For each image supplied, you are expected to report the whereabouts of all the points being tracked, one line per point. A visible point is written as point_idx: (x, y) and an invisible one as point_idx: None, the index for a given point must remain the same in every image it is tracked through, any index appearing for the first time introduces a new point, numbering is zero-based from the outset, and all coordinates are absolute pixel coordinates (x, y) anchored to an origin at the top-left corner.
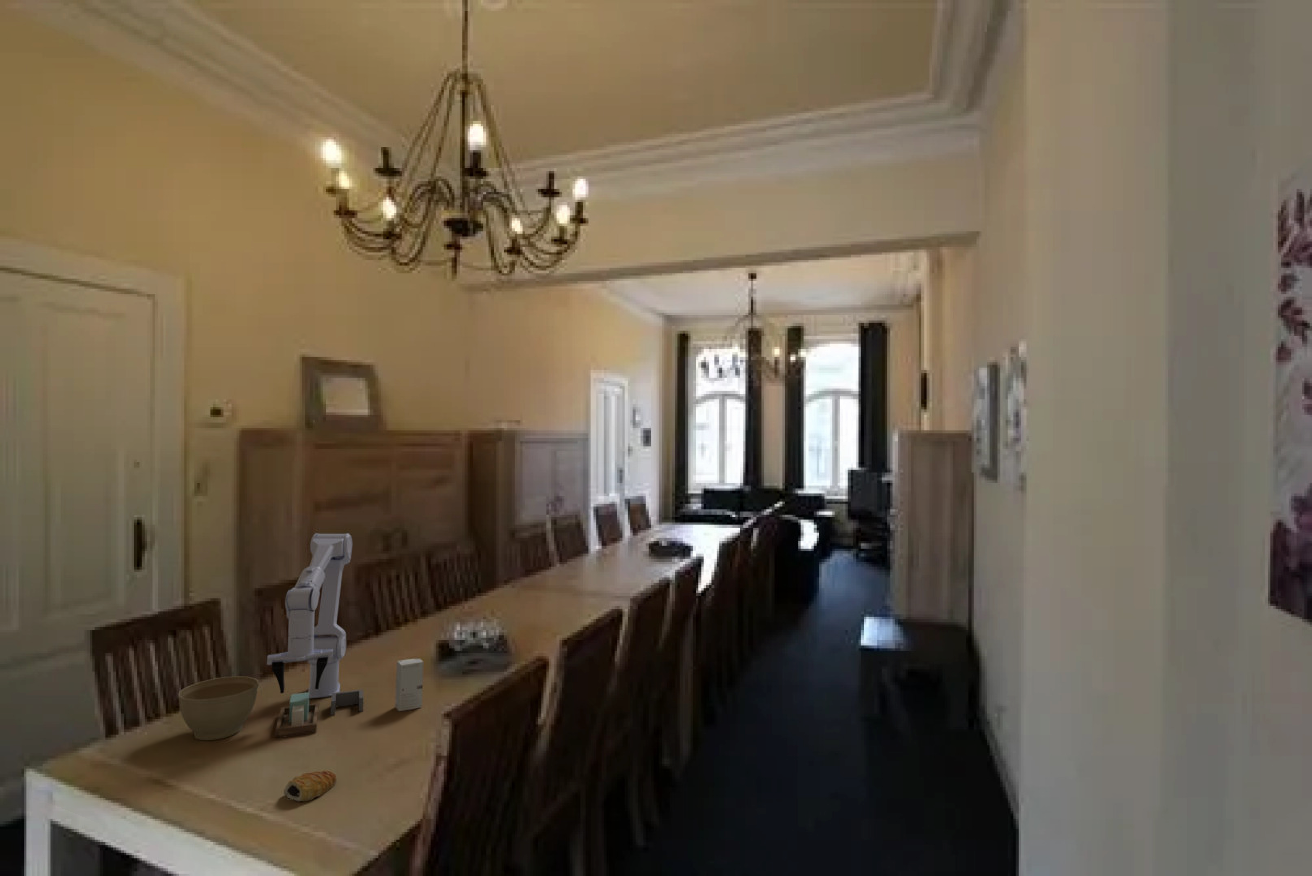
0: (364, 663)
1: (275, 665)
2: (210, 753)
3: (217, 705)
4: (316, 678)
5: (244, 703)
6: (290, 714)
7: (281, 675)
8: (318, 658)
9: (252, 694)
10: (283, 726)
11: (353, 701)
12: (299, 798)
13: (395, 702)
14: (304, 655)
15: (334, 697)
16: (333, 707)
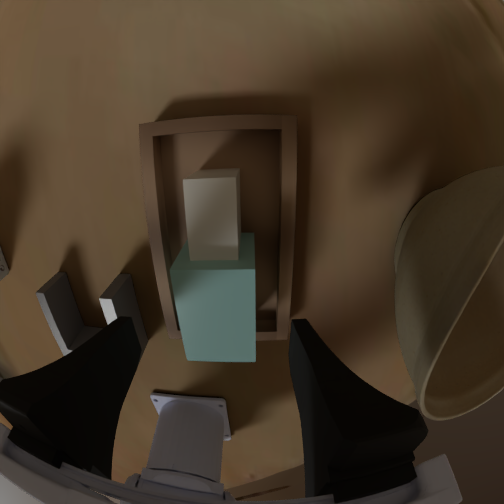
0: None
1: (392, 463)
2: (449, 94)
3: None
4: (97, 349)
5: (467, 205)
6: (249, 244)
7: (331, 391)
8: (47, 460)
9: (454, 263)
10: (271, 202)
11: (91, 332)
12: None
13: (3, 275)
14: None
15: None
16: (113, 286)
